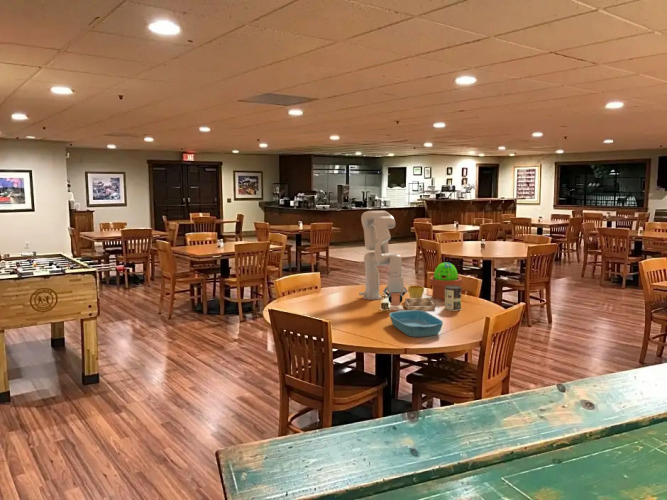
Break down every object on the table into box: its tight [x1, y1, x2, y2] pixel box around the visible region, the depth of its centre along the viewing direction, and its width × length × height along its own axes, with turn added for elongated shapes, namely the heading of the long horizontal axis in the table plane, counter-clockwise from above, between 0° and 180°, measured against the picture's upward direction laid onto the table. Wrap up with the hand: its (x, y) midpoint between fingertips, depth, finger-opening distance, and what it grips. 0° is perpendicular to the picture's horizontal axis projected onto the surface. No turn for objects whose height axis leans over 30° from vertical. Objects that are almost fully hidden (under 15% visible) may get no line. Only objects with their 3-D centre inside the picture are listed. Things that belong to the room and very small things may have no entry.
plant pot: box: [407, 285, 425, 298], centre depth 352 cm, size 10×10×10 cm
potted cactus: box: [428, 261, 463, 301], centre depth 360 cm, size 22×22×25 cm
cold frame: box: [404, 297, 436, 311], centre depth 333 cm, size 17×13×5 cm
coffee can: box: [444, 285, 463, 312], centre depth 329 cm, size 10×10×14 cm
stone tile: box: [388, 304, 404, 311], centre depth 333 cm, size 9×9×1 cm
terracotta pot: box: [390, 293, 401, 306], centre depth 332 cm, size 7×7×8 cm
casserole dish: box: [388, 309, 444, 338], centre depth 286 cm, size 37×22×7 cm, turn 15°
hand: (395, 302), depth 333 cm, fingers closed on terracotta pot, 5 cm apart
